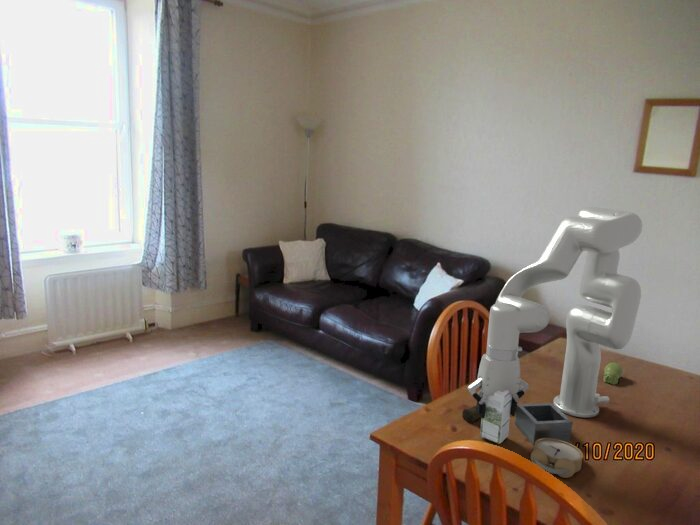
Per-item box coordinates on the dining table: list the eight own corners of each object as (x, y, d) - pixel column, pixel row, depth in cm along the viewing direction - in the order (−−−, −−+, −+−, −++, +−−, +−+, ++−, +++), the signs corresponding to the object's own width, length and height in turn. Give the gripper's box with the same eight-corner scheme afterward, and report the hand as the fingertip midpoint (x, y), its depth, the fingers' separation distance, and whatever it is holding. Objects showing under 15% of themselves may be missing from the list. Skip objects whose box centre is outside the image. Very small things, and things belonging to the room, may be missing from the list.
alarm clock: (587, 448, 130) (575, 466, 117) (584, 467, 130) (571, 487, 118) (541, 433, 136) (525, 448, 124) (538, 451, 136) (522, 468, 124)
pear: (625, 362, 178) (619, 376, 170) (623, 375, 179) (617, 390, 172) (607, 358, 181) (601, 371, 173) (606, 371, 183) (599, 385, 175)
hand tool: (471, 426, 144) (473, 410, 143) (461, 419, 147) (462, 404, 146) (515, 409, 155) (517, 394, 154) (504, 403, 158) (506, 389, 157)
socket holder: (549, 422, 147) (551, 402, 146) (569, 442, 137) (572, 422, 136) (514, 424, 145) (517, 404, 144) (533, 444, 135) (535, 423, 134)
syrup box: (508, 436, 138) (513, 385, 135) (499, 445, 133) (504, 393, 130) (488, 428, 141) (493, 379, 138) (478, 437, 137) (483, 386, 134)
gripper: (526, 344, 137) (520, 405, 141) (463, 347, 134) (459, 409, 138) (541, 356, 130) (533, 419, 134) (475, 359, 127) (469, 424, 131)
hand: (495, 414), depth 136 cm, fingers closed on syrup box, 7 cm apart
